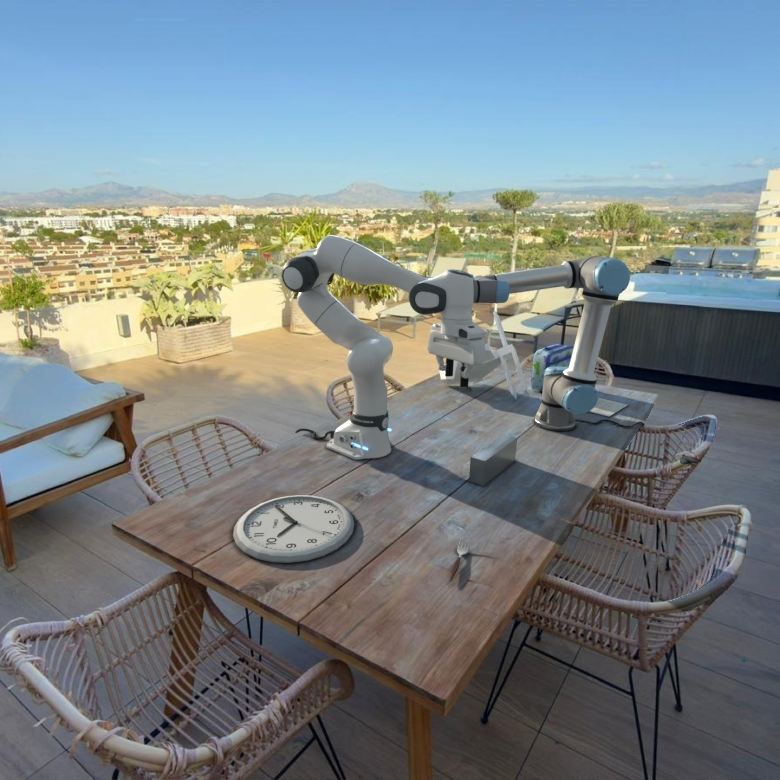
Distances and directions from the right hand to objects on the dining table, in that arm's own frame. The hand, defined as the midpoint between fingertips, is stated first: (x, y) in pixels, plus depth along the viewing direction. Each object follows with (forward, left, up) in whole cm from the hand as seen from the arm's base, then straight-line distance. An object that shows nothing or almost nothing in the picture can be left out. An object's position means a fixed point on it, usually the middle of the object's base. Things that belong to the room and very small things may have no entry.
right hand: (456, 381), depth 182 cm
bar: (-13, +23, -22) cm, 34 cm away
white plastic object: (-12, -59, -22) cm, 64 cm away
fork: (-2, +73, -22) cm, 76 cm away
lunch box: (-47, -71, -22) cm, 88 cm away
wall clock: (+39, +64, -22) cm, 78 cm away
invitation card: (-64, -47, -22) cm, 82 cm away
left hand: (+1, +26, +10) cm, 28 cm away
